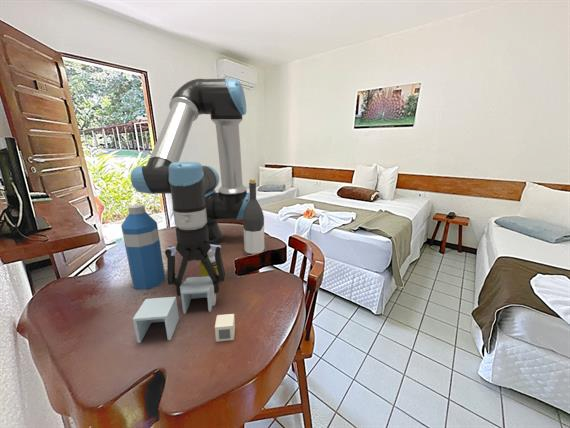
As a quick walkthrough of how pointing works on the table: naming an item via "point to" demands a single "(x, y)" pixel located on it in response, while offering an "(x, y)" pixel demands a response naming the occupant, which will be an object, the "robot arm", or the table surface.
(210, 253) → the pill bottle
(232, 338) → the letter cube
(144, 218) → the water bottle
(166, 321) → the cover near
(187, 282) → the cover far
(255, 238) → the wine bottle
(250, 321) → the table surface
